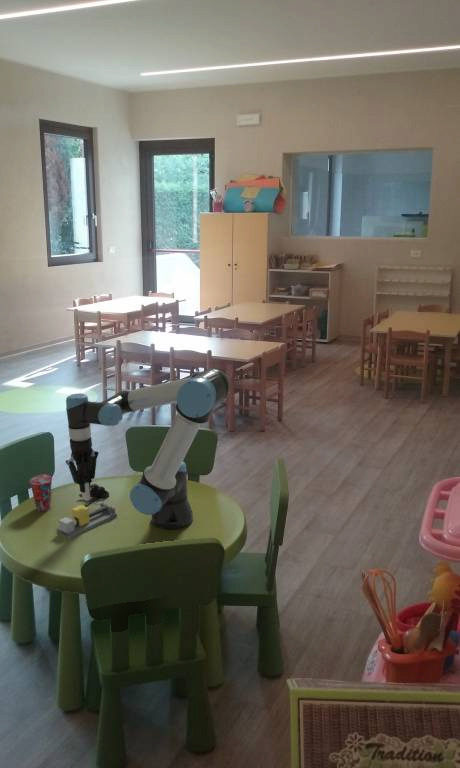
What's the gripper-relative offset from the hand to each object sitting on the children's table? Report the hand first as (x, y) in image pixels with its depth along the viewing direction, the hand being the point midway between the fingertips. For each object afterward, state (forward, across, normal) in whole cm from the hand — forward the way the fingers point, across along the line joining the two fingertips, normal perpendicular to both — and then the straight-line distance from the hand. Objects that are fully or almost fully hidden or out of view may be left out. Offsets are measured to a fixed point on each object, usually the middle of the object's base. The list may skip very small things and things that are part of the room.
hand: (86, 499), depth 249 cm
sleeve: (+8, +3, 0) cm, 9 cm away
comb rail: (+10, 0, 0) cm, 10 cm away
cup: (+10, +3, -24) cm, 26 cm away
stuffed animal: (+10, -16, -16) cm, 25 cm away
